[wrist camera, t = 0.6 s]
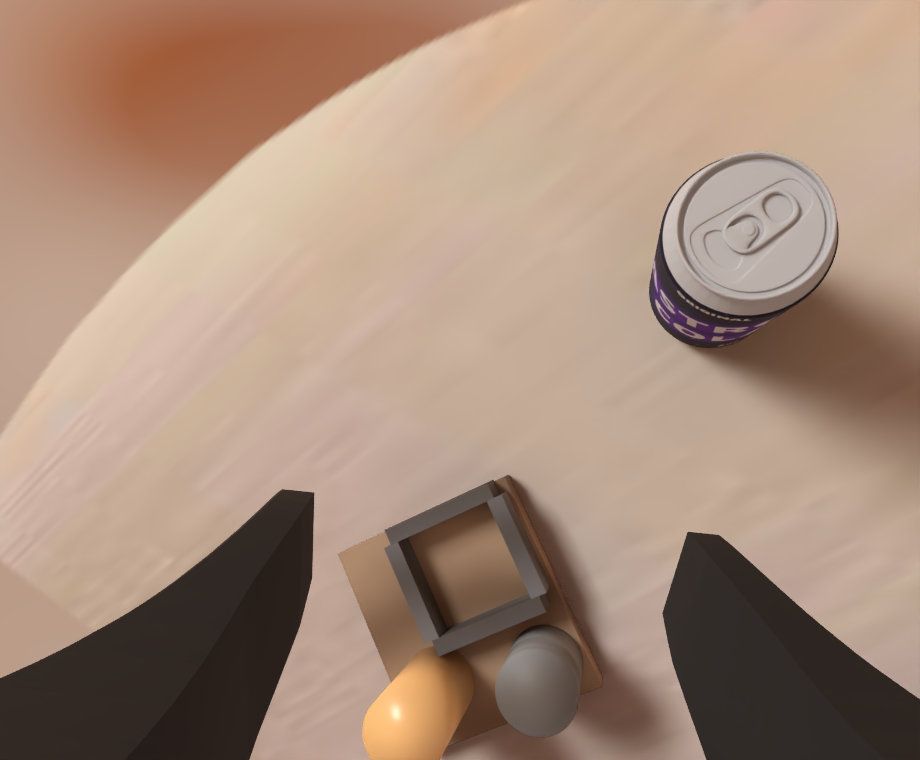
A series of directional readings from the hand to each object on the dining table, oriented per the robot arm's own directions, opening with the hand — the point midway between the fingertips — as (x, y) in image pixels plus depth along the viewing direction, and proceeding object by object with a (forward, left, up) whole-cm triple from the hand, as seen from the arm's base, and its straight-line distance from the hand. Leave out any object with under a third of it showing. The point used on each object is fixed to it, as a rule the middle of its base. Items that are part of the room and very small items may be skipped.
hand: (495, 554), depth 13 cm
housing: (-4, +8, -22) cm, 24 cm away
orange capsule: (-7, +11, -21) cm, 24 cm away
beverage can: (+5, -10, -22) cm, 25 cm away
